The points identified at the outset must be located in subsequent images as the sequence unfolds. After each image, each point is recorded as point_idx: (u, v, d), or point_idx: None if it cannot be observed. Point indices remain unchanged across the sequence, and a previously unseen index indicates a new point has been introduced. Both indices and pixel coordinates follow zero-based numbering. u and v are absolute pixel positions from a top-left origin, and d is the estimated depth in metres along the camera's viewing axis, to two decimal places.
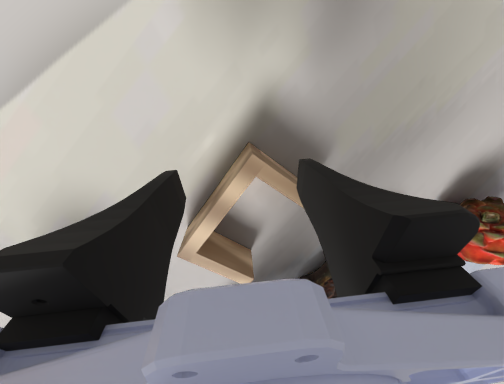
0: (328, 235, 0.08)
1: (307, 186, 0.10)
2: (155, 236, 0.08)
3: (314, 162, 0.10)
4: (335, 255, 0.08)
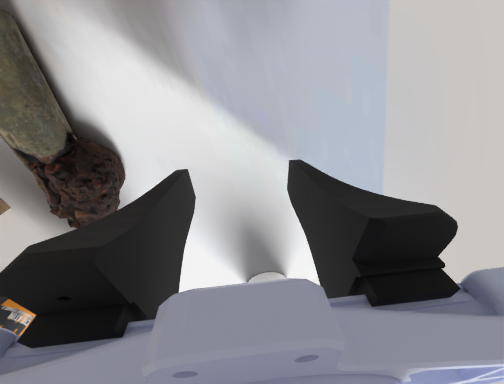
0: (315, 236, 0.08)
1: (296, 187, 0.10)
2: (170, 235, 0.08)
3: (303, 163, 0.10)
4: (321, 256, 0.08)
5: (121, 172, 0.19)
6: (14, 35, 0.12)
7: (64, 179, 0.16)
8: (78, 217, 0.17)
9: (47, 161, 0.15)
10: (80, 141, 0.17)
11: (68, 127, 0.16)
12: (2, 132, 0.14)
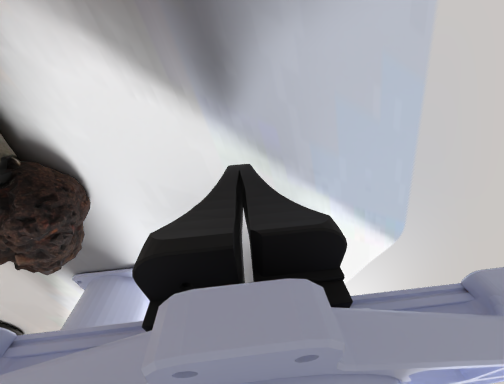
0: None
1: (242, 192, 0.10)
2: (239, 228, 0.08)
3: (248, 168, 0.10)
4: None
5: (83, 202, 0.15)
6: None
7: None
8: (20, 264, 0.13)
9: None
10: (24, 167, 0.13)
11: (5, 150, 0.12)
12: None
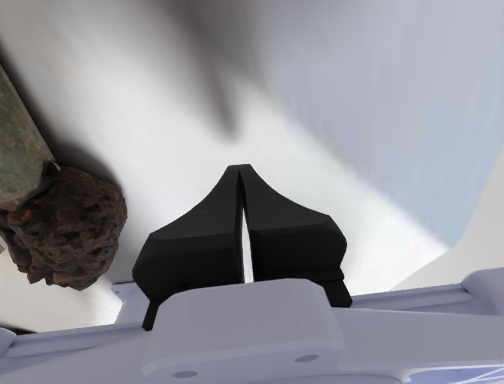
0: None
1: (242, 192, 0.10)
2: (239, 228, 0.08)
3: (248, 168, 0.10)
4: None
5: (122, 211, 0.14)
6: None
7: (37, 233, 0.11)
8: (58, 282, 0.12)
9: (11, 207, 0.10)
10: (65, 173, 0.11)
11: (47, 154, 0.11)
12: None
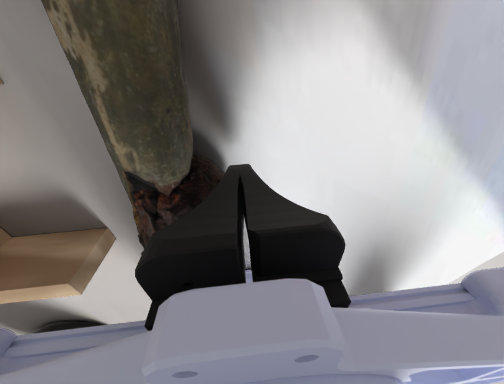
0: None
1: (241, 192, 0.10)
2: None
3: (247, 168, 0.10)
4: None
5: None
6: None
7: None
8: None
9: (167, 191, 0.10)
10: (200, 160, 0.12)
11: None
12: (120, 148, 0.09)
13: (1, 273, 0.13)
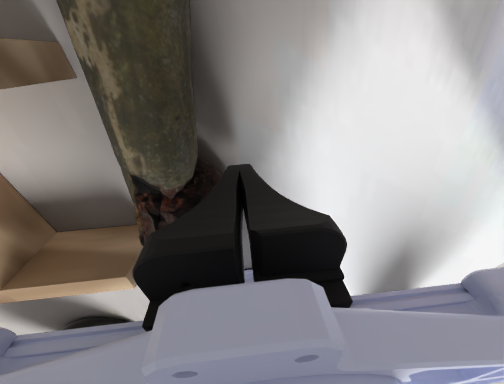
0: None
1: (242, 192, 0.10)
2: (239, 228, 0.08)
3: (248, 168, 0.10)
4: None
5: None
6: (188, 8, 0.08)
7: None
8: None
9: (171, 195, 0.10)
10: (203, 165, 0.12)
11: None
12: (128, 152, 0.09)
13: (55, 267, 0.13)
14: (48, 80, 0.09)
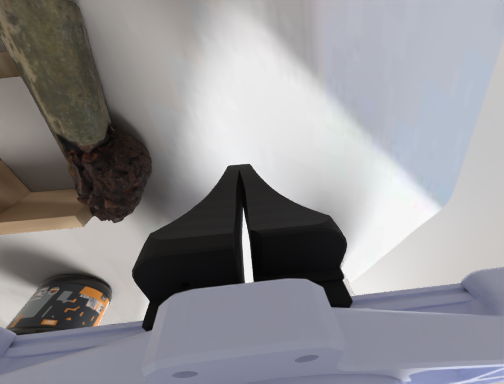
0: None
1: (242, 192, 0.10)
2: (239, 228, 0.08)
3: (248, 168, 0.10)
4: None
5: (149, 167, 0.20)
6: (80, 27, 0.13)
7: (100, 169, 0.16)
8: (107, 207, 0.17)
9: (87, 150, 0.15)
10: (118, 133, 0.17)
11: (109, 118, 0.16)
12: (50, 117, 0.14)
13: (26, 211, 0.19)
14: (11, 76, 0.14)
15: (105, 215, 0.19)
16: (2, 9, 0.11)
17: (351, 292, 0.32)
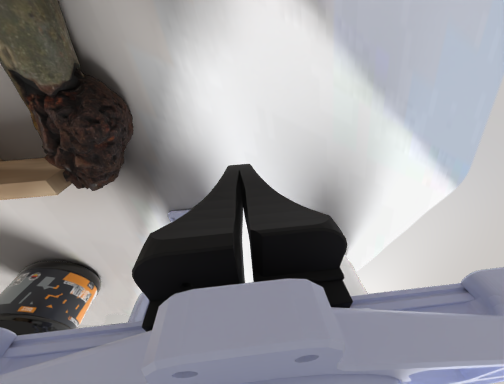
0: None
1: (242, 192, 0.10)
2: (239, 228, 0.08)
3: (248, 168, 0.10)
4: None
5: (130, 124, 0.17)
6: None
7: (66, 117, 0.14)
8: (78, 165, 0.15)
9: (48, 92, 0.13)
10: (88, 78, 0.15)
11: (76, 58, 0.14)
12: None
13: None
14: None
15: (81, 180, 0.17)
16: None
17: (358, 279, 0.30)
